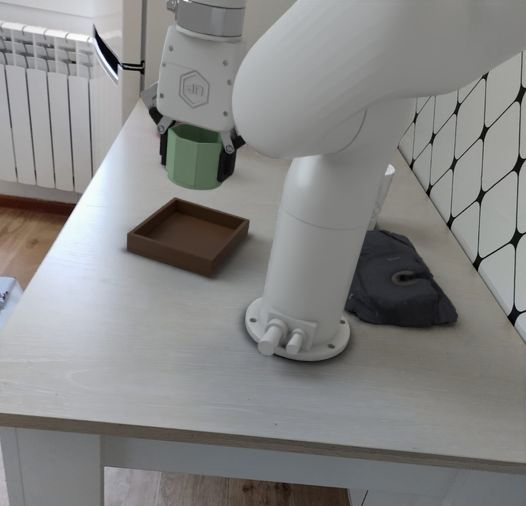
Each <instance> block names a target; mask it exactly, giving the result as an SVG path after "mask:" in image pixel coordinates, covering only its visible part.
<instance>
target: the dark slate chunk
mask: <svg viewBox="0 0 526 506" xmlns="http://www.w3.org/2000/svg"><path fill="white" fill-rule="evenodd" d="M344 310H347V311H349V312H350V313H352V314H356V315H357V316H358V317H359V320H360V321H362V322H364V323H365V322H369V323H370V324H378V325H383V324H390V325H395V326H404V327H413V328H424V327H429V326H430V325H436V326H438V325H439V324H444V323H445V322H446V323H447V322H448V323H457V322H458V319H459V313H458V312H457V310H456V307H455V305H454V304H453V303H452V300H451V299H450V298H449V296H448V295H447V294H446V293H445V292H444V290H443V289H442V287H441V286H440V285H439V284H438V283H437V281H436V280H435V279H434V275H433V273H432V272H431V269H430V268H429V267H428V266H427V264H426V262H425V261H424V260H423V257H421V255H420V254H419V253H418V252H417V249H416V247H415V246H414V243H413V242H412V241H411V239H410V238H408V236H406V235H405V234H401V233H396V232H391V231H390V230H387V229H383V228H382V229H379V228H378V229H373V230H370V231H366V235H365V238H364V242H363V245H362V248H361V252H360V255H359V259H358V262H357V266H356V269H355V272H354V276H353V279H352V283H351V286H350V290H349V293H348V296H347V300H346V303H345V307H344Z"/></svg>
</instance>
